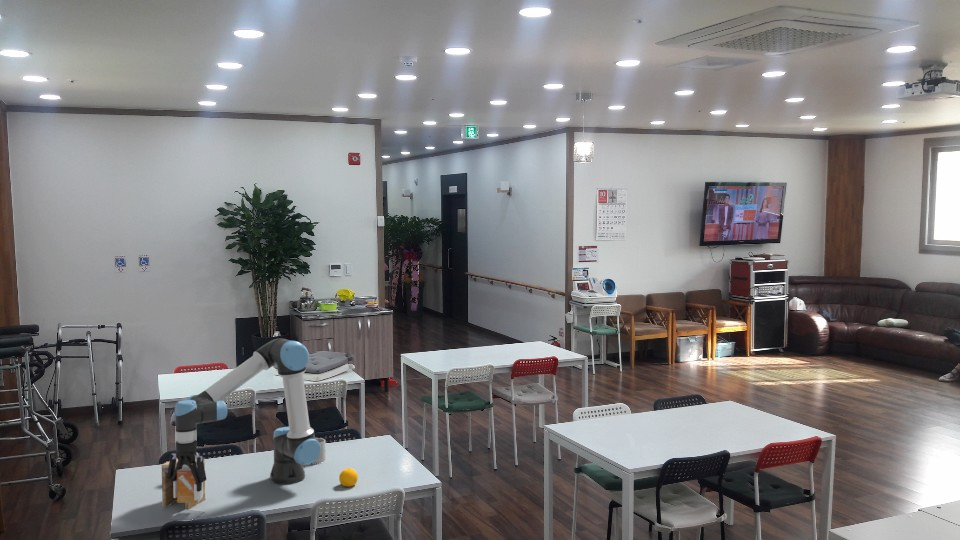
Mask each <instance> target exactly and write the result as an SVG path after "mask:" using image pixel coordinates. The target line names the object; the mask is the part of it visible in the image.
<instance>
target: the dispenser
mask: <svg viewBox="0 0 960 540" xmlns="http://www.w3.org/2000/svg"><path fill="white" fill-rule="evenodd" d="M195 461H196V459H195ZM169 462H170V460H169V461H166V462H164V463H162V464H161V489H162V491H161V493H162V494H161V495H162V496H161V498H162V507H163V508H167V507H168V506H170V505H173V504H174V503H175V502H176V503H177V497H176V498H174V494H173V489H172V481H171V479H167V474H168V468H169ZM177 462H178V459H177V458H176V464H177ZM203 463H204V469H205V467H206V466H205V458H203ZM192 464H193V463H192ZM192 464H191V465H192ZM176 466H177V465H175V468H176ZM183 466H188V465H183ZM196 466H197V462H196ZM204 501H206V481H204V482H203V498H202V499H201V500H200V501H199V502H198V503H184V510H185V509H186V510H191V509H192V508H193V507H196V506H197V505H199V504H201V503H202V502H204Z"/></svg>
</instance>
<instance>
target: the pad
mask: <svg viewBox="0 0 960 540" xmlns="http://www.w3.org/2000/svg"><path fill="white" fill-rule="evenodd" d="M205 513H206V511H202V510H201V511H200V510H193V509H189V510H187V509H185V508H184V509H183V510H182V511H180V512H178V513H176V514H174V515H173V516H171V517H170V518H169V519H170V520H172V521H178V520H192V519H195V520H196V519H198V518H199V517H201V516H203V515H205Z"/></svg>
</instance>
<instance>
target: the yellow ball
mask: <svg viewBox="0 0 960 540" xmlns="http://www.w3.org/2000/svg"><path fill="white" fill-rule="evenodd" d="M338 477H339V478H338V480H339V483H340V485H341V486H343V487H348V488H349V487H353V486H355V485H356V484H357V482H358V479H359V476H358V472H357V471H356V470H355V469H354V468H351V467H350V468H349V467H348V468H344V469H342V471H341V472H340V474H339V476H338Z"/></svg>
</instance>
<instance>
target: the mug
mask: <svg viewBox="0 0 960 540" xmlns="http://www.w3.org/2000/svg"><path fill="white" fill-rule="evenodd" d="M315 439H316V440H317V441H318V442H319V443H320V446H321V451H320V455H319V456H318V458H317V459H316V460H315V461H314V462H313V463H320V464H322V463H321V462H324V461H325V460H327V459H326V458H327V457H326V455H327V454H326V453H327V452H326V451H327V450H326V448H327V447H326V439H324V438H321V437H320V438H319V437H315ZM325 462H326V461H325ZM325 462H324V463H325Z"/></svg>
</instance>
